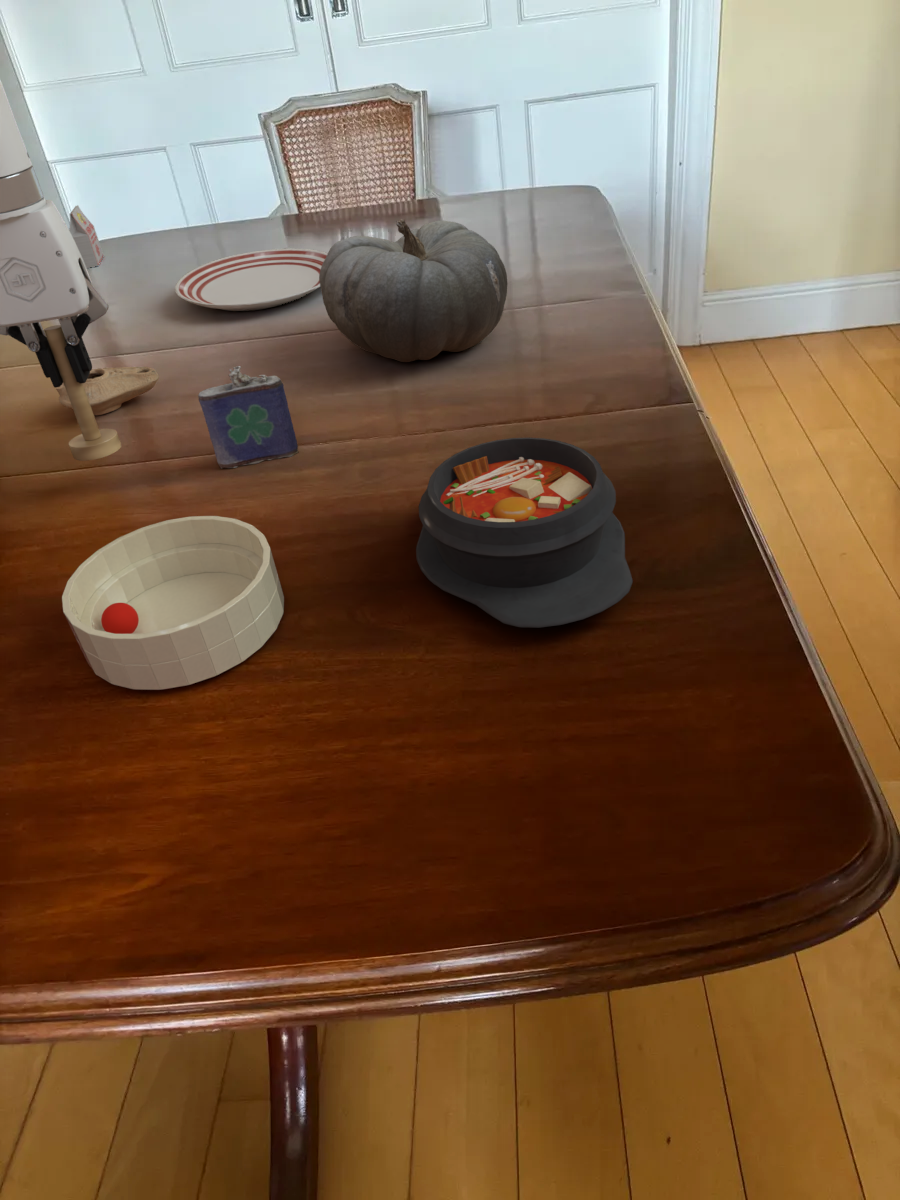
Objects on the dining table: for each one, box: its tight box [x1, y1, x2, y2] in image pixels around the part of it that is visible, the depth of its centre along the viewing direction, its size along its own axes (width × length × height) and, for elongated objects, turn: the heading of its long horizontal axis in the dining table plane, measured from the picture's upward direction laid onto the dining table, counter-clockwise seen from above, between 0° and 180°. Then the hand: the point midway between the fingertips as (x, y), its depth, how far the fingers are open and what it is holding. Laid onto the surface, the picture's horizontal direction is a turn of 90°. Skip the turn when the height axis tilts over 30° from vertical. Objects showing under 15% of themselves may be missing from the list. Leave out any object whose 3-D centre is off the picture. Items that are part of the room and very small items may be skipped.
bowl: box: [61, 515, 285, 691], centre depth 77 cm, size 17×17×6 cm
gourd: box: [319, 218, 508, 363], centre depth 120 cm, size 25×25×17 cm
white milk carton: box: [68, 204, 105, 269], centre depth 173 cm, size 4×7×10 cm, turn 9°
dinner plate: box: [174, 248, 328, 312], centre depth 149 cm, size 28×27×3 cm
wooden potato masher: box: [43, 324, 122, 462], centre depth 95 cm, size 5×5×14 cm
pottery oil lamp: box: [55, 366, 160, 416], centre depth 117 cm, size 9×12×7 cm
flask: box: [197, 365, 299, 469], centre depth 99 cm, size 9×3×11 cm, turn 102°
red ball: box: [101, 603, 139, 634], centre depth 77 cm, size 3×3×3 cm
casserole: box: [415, 437, 634, 629], centre depth 78 cm, size 25×19×8 cm
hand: (72, 378), depth 94 cm, fingers closed on wooden potato masher
